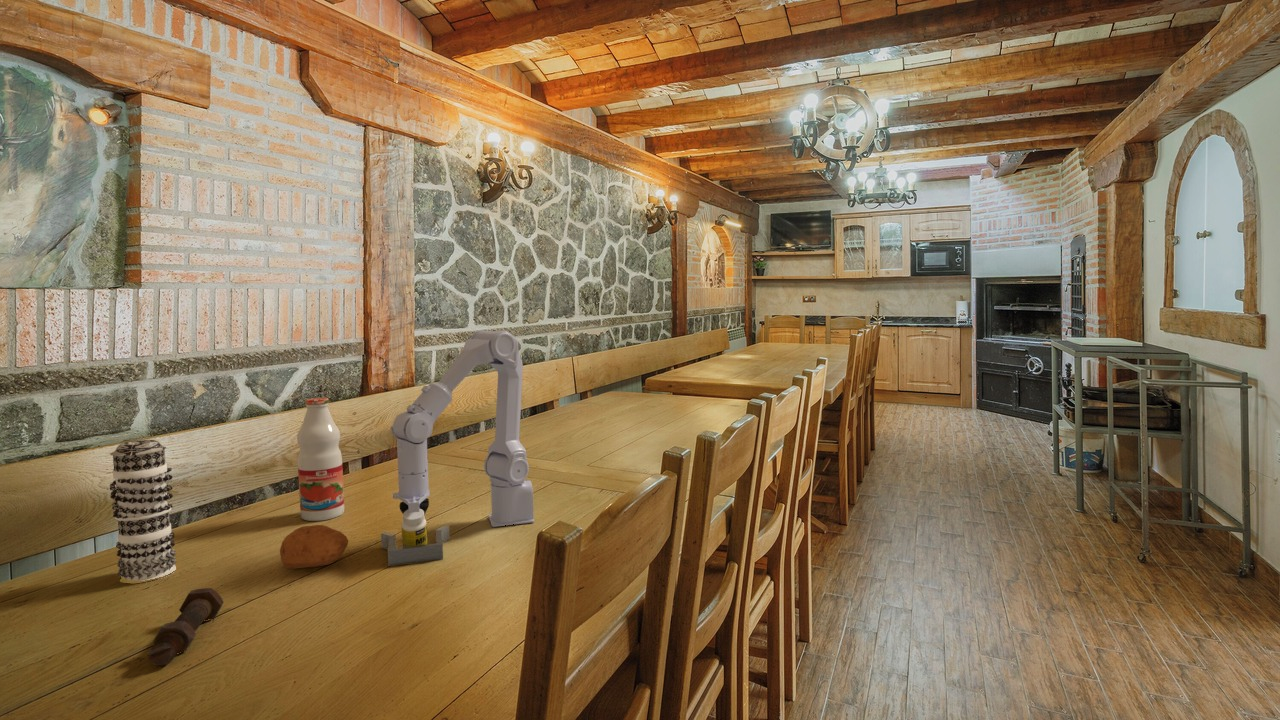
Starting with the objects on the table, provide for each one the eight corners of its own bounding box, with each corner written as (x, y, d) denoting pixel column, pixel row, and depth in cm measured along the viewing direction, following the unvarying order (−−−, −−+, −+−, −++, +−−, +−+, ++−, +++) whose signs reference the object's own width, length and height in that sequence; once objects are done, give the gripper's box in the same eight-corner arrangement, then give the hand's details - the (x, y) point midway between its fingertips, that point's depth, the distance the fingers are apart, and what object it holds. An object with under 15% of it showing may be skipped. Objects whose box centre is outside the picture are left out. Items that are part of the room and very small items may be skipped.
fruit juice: (345, 507, 157) (340, 395, 155) (343, 518, 149) (338, 400, 146) (302, 512, 154) (296, 397, 151) (298, 524, 145) (292, 402, 143)
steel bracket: (449, 538, 136) (448, 524, 135) (452, 557, 125) (451, 543, 125) (381, 546, 131) (381, 532, 131) (378, 567, 120) (378, 552, 120)
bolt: (156, 682, 87) (200, 626, 102) (191, 660, 88) (230, 607, 102) (127, 651, 86) (177, 598, 100) (163, 629, 87) (207, 580, 101)
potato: (301, 555, 127) (299, 519, 126) (357, 555, 126) (355, 519, 126) (273, 575, 118) (271, 535, 117) (333, 575, 117) (331, 536, 117)
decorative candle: (191, 567, 121) (182, 438, 119) (139, 588, 112) (128, 449, 110) (157, 561, 124) (148, 435, 122) (104, 581, 115) (93, 445, 113)
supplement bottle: (418, 558, 125) (416, 523, 122) (397, 552, 126) (395, 517, 123) (432, 544, 130) (430, 509, 127) (412, 538, 131) (410, 504, 128)
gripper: (393, 464, 134) (395, 526, 136) (390, 482, 121) (393, 551, 122) (428, 461, 137) (430, 523, 138) (429, 478, 123) (431, 546, 124)
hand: (415, 536), depth 130 cm, fingers closed
